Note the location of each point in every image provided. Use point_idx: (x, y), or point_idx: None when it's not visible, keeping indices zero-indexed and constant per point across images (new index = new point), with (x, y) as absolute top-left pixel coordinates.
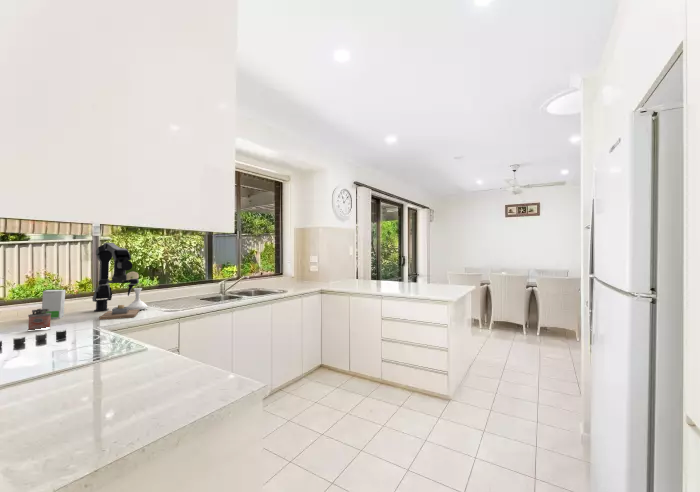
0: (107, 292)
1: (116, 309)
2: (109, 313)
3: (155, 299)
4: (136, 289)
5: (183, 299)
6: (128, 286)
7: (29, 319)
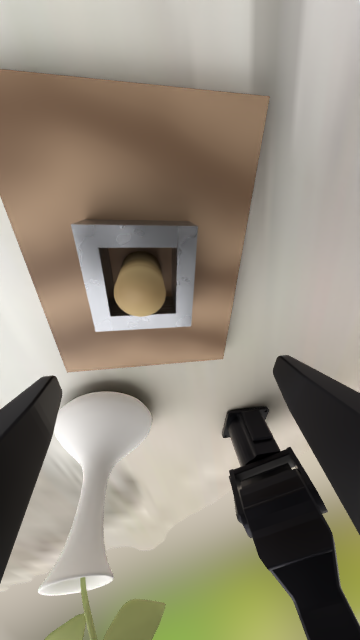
0: (354, 392)
1: (163, 225)
2: (209, 275)
3: (116, 536)
4: (78, 570)
5: (18, 543)
6: (145, 606)
7: None
